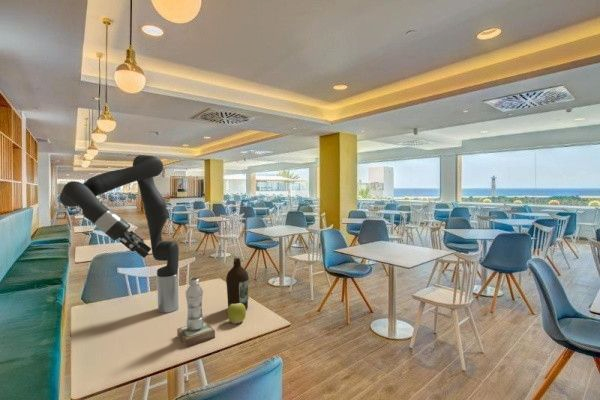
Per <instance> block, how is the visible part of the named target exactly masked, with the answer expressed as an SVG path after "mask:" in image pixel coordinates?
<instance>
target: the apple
mask: <svg viewBox="0 0 600 400" xmlns="http://www.w3.org/2000/svg"><path fill="white" fill-rule="evenodd" d="M234 302H235V301H234ZM226 313H227V318H228V320H229V322H230V323H232V324H235V325H236V324H237V323H238V324H240V323H242V322H243V321H244V320H245V319H246V315H247V314H246V313H247V310H246V308H245V306H244V305H243V304H242V303H237V304H236V303H235V304H231V305H230V306H229V307H228V306H227V311H226Z"/></svg>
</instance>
